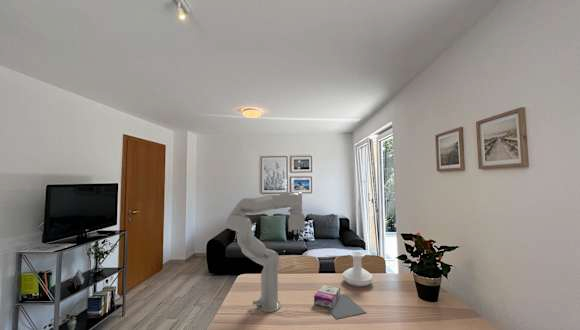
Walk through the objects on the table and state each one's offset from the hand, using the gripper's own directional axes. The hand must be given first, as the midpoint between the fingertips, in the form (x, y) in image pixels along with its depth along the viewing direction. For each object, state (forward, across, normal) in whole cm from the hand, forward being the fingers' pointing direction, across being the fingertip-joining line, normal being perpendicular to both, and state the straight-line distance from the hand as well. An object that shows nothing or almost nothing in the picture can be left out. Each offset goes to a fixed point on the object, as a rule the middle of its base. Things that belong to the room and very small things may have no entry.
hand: (296, 240), depth 155 cm
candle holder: (+33, +45, +1) cm, 56 cm away
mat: (+33, +19, -22) cm, 44 cm away
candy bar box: (+30, +8, -21) cm, 38 cm away
